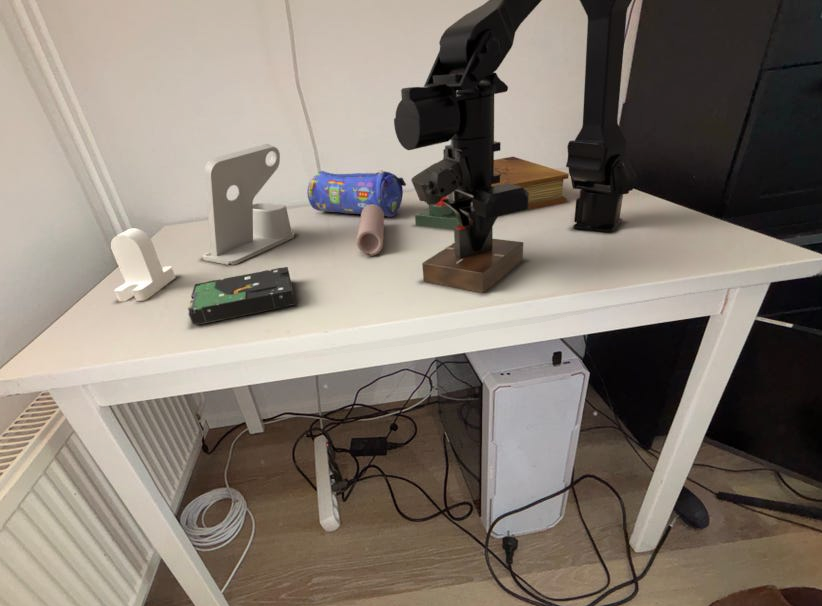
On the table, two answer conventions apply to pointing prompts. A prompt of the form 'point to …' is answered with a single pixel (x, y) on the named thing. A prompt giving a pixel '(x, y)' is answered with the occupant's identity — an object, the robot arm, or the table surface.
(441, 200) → the button
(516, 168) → the diary
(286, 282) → the disk drive
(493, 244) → the panel
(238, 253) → the grey bracket stand
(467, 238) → the knob
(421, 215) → the button box
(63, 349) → the table surface
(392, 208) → the pencil case
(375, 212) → the beige hollow tube
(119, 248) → the white stand
